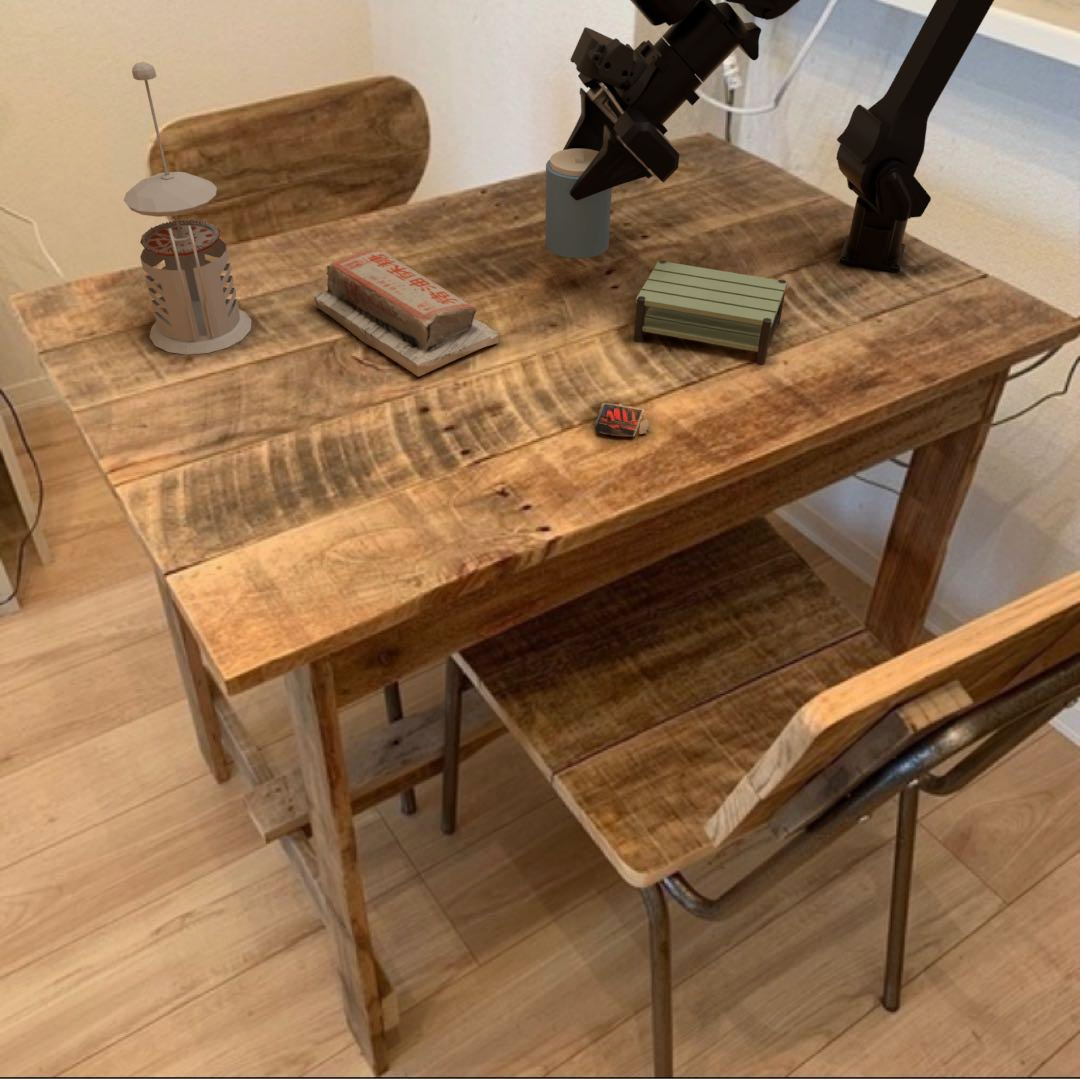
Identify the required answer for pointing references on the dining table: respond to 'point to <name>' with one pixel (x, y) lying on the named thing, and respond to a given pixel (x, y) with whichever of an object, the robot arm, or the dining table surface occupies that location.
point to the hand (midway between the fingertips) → (565, 182)
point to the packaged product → (401, 312)
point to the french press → (185, 260)
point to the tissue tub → (574, 208)
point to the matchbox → (620, 420)
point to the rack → (710, 307)
